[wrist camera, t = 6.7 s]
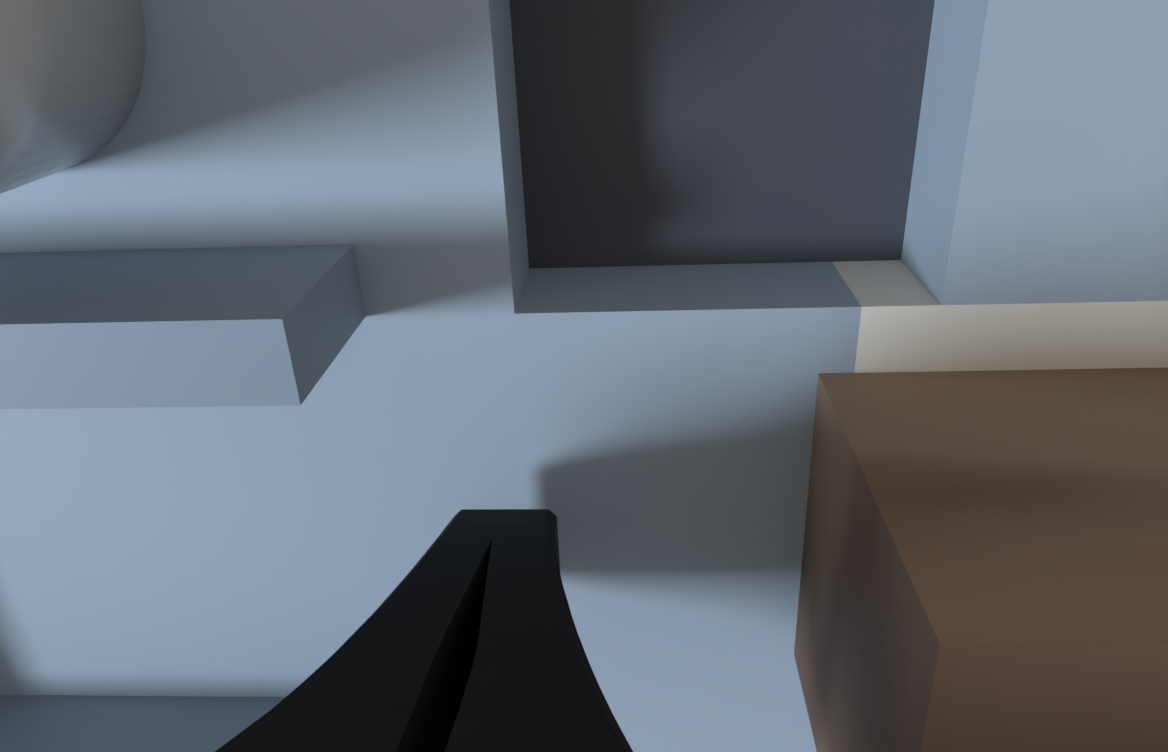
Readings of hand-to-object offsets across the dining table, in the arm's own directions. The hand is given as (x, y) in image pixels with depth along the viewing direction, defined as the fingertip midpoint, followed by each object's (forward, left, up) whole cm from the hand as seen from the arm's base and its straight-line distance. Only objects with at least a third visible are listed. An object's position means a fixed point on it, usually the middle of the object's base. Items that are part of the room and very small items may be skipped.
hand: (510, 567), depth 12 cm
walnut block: (0, -7, -1) cm, 7 cm away
